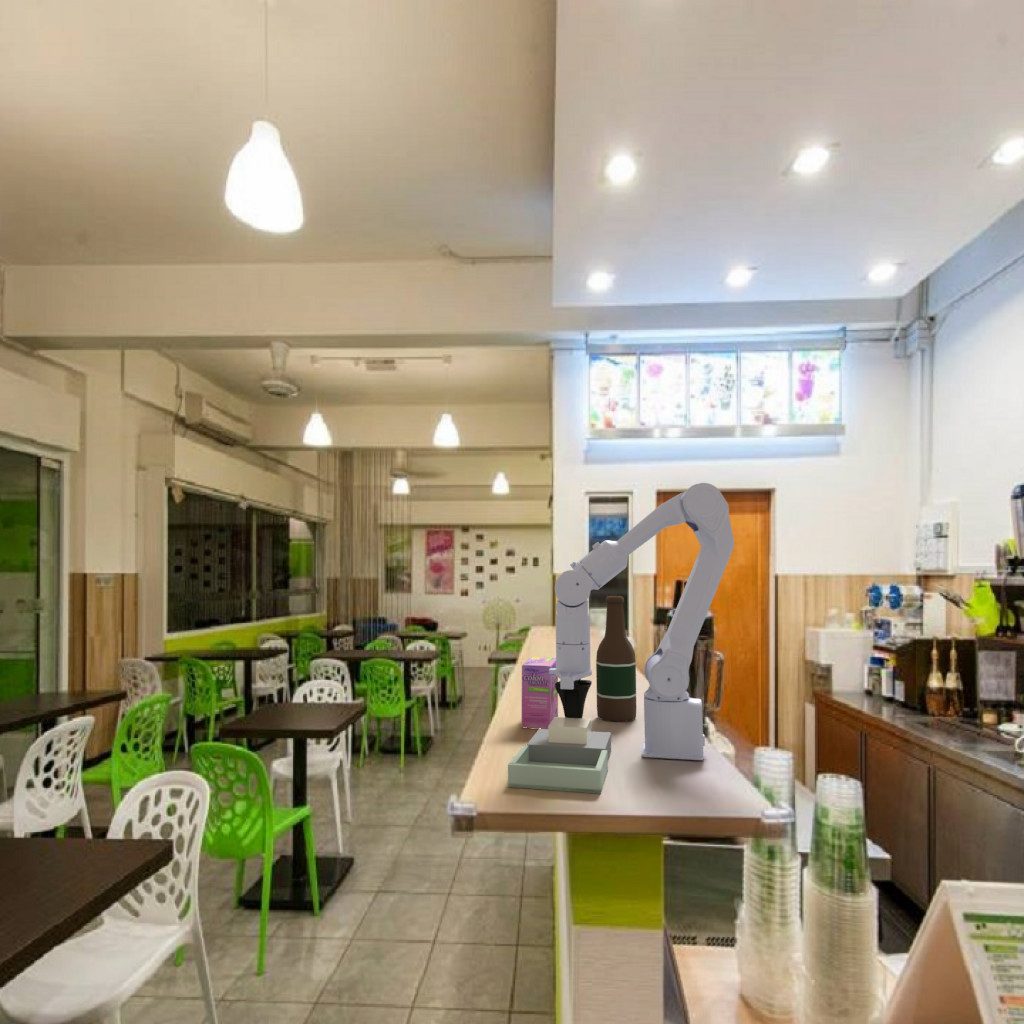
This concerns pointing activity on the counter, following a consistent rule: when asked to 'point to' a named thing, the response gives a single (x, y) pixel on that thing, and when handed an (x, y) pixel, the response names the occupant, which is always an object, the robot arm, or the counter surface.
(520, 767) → the bin
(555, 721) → the tile
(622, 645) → the beer bottle
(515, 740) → the counter surface
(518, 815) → the counter surface
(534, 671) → the box
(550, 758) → the bench plate
